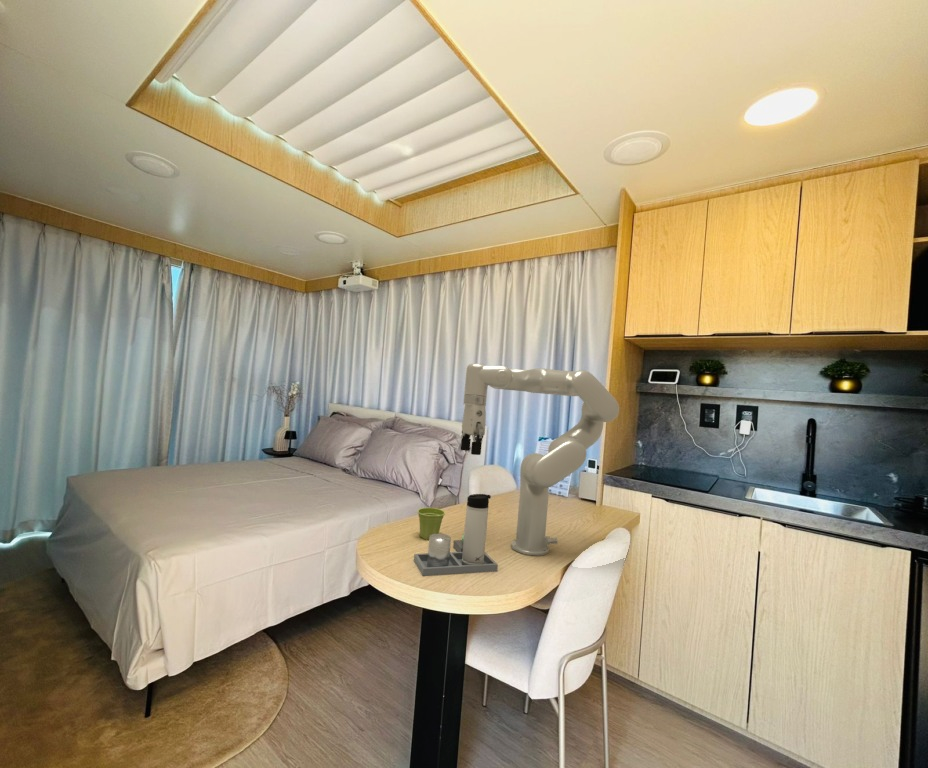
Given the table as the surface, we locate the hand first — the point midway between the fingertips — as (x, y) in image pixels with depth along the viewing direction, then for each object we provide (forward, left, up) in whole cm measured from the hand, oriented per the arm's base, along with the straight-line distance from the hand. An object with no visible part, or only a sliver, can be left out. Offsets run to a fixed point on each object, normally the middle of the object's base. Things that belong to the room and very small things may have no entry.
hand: (470, 452), depth 133 cm
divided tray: (+8, +18, -30) cm, 36 cm away
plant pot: (+9, -8, -31) cm, 33 cm away
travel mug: (+3, +18, -30) cm, 35 cm away
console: (+1, +8, -30) cm, 31 cm away
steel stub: (+14, +18, -30) cm, 37 cm away
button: (+1, +7, -30) cm, 31 cm away
